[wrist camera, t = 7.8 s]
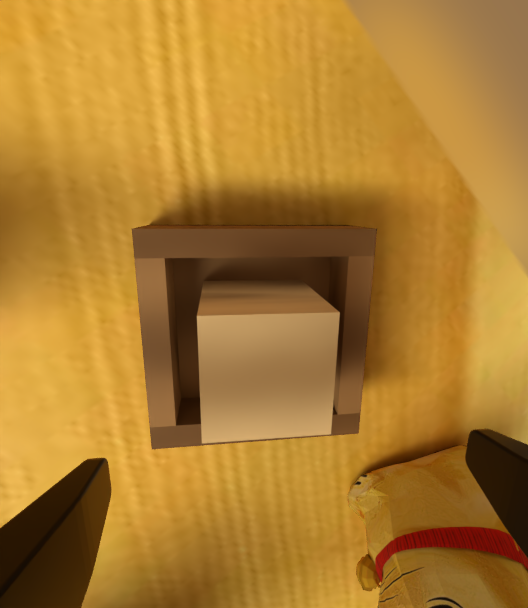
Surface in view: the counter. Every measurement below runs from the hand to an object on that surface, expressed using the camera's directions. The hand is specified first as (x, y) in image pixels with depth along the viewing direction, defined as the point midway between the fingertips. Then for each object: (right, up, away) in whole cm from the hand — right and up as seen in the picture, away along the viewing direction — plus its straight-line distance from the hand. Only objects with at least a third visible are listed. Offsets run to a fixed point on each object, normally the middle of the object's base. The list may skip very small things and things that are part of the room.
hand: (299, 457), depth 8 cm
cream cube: (-1, +3, +10) cm, 10 cm away
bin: (-2, +3, +11) cm, 11 cm away
